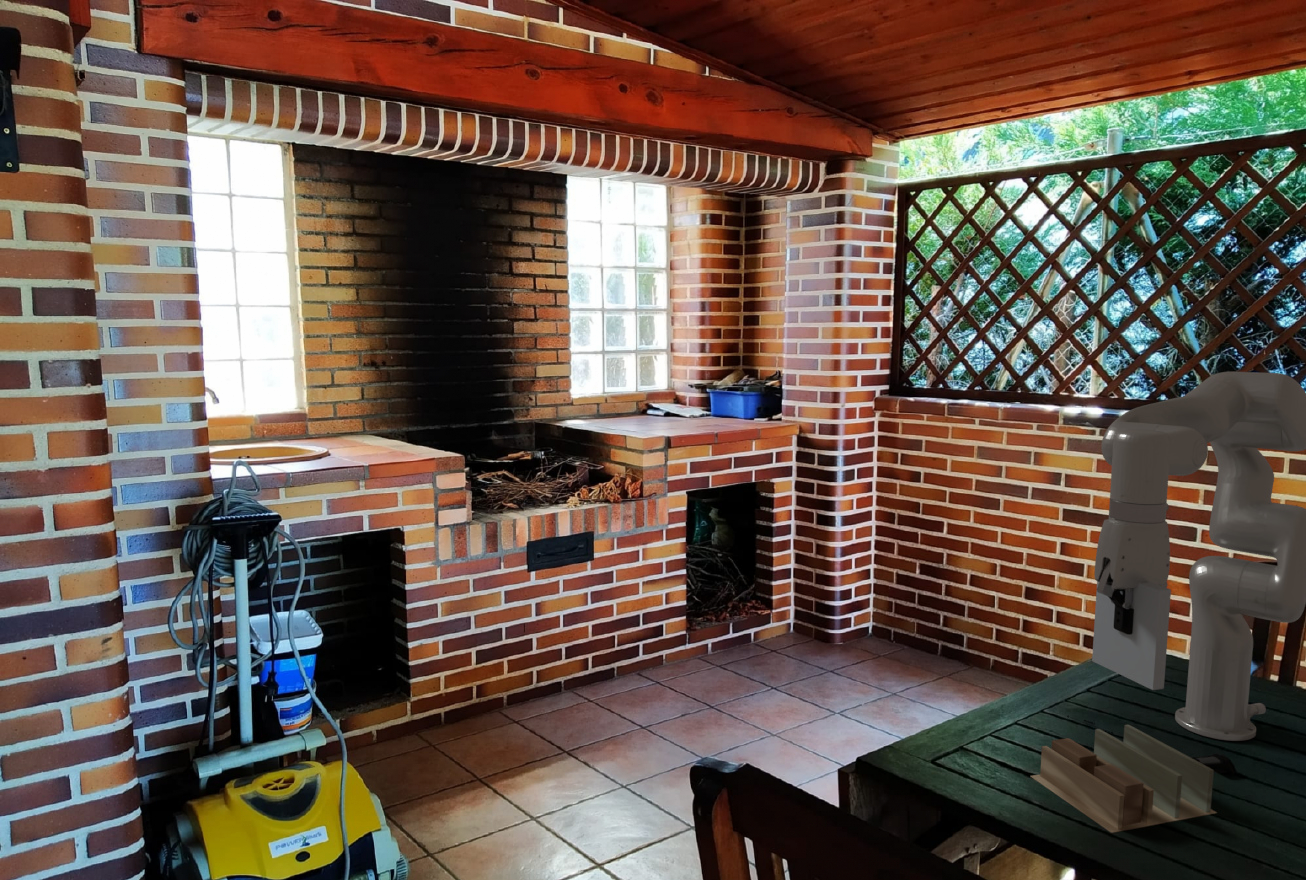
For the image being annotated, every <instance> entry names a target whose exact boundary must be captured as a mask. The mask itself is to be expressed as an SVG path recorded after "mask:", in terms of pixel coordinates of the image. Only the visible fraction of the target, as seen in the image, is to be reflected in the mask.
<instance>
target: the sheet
mask: <svg viewBox="0 0 1306 880" xmlns="http://www.w3.org/2000/svg"><path fill="white" fill-rule="evenodd" d="M1098 584H1099V582H1098V581H1096V588H1097V587H1098ZM1111 588H1112V586H1111ZM1120 593H1121V594H1122V595H1123V592H1122V591H1120ZM1171 593H1172V589H1170V588H1168V587H1167V588H1165V587H1162V586H1159V585H1156V584H1153V583H1150V582H1148V583H1138V587H1137V588H1134V589H1132V601H1131V607H1130V608H1132V609H1134V617H1133V632H1132V634H1129V635H1128V634H1125V633H1123V632H1120V631H1118V630H1116V629H1114V610H1115V604H1112V603H1111V600H1110V598H1109V597H1108V596H1106V595H1103V594H1101V593H1098V592H1097V590H1096V594H1095V595H1096V596H1095V607H1094V608H1095V611H1094V622H1093V623H1094V624H1093V625H1094V626H1093V643H1092V654H1091V655H1092V657H1091V662H1092V663H1095V664H1097V665H1100V666H1101V667H1103V668H1106V669H1108V670H1110V671H1112V672H1114V673H1116V674H1118V675H1121V676H1122V677H1125V678H1127V679H1129V680H1131V681H1133V682H1135V683H1138V684H1139V685H1140V686H1144V688H1147V689H1150V690H1152V691H1156V690H1157V691H1158V690H1163V689H1164V688H1165V678H1166V677H1165V675H1166V665H1167V662H1166V661H1167V650H1168V646H1167V645H1168V636H1169V623H1170V607H1171V595H1172V594H1171Z"/></svg>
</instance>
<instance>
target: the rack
mask: <svg viewBox="0 0 1306 880" xmlns="http://www.w3.org/2000/svg"><path fill="white" fill-rule="evenodd" d="M1093 746H1094V747H1093V753H1094V754H1096V755H1097V760H1096V766H1102V765H1109V764H1113V765H1114V766H1116V767H1118V768H1119V769H1121V770H1123V771H1124V772H1126V773H1128V774H1129V775H1131V776H1133V777H1134V778H1136V779H1138V780H1139V781H1141V782H1143V783H1144V786H1143V800H1142V814H1141V822H1140V823H1135V824H1130V825H1124V826H1122V823H1123V809H1124V795H1123V794H1122V793H1120V792H1119V791H1117V790H1115V789H1114V788H1112V787H1111V786H1109V785H1107V784H1106V783H1104V782H1103V781H1101V780H1100V779H1098V778H1096V777H1095V776H1093V775H1092V774H1090V773H1089V772H1087V771H1085V770H1084V769H1082V768H1081V767H1079V766H1077V765H1076V764H1074V763H1073V762H1071V761H1070V760H1068V759H1066V758H1065V757H1063V756H1062V755H1060V754H1058V753H1057V752H1055V751H1054V750H1052V749H1051V748H1050V747H1049V746H1048V745H1042V746H1041V756H1040V774H1035V775H1030V778H1032V779H1033V780H1034V781H1036V782H1037V783H1039V784H1040V785H1042V786H1044V787H1045V788H1046V789H1048V790H1049V791H1051V792H1053V793H1054V794H1055V795H1056V796H1058V797H1059V798H1061V799H1062V800H1064V801H1065V802H1067V803H1068V804H1070V805H1071V806H1073V808H1075V809H1076V810H1078V811H1079V812H1081V813H1082V814H1083V815H1085V816H1087V817H1088V818H1089V819H1091V820H1092V821H1094V822H1095V823H1097V824H1098V825H1099V826H1101V827H1102V828H1104V830H1107V831H1108V832H1109V833H1111V834H1114V833H1119V832H1125V831H1129V830H1134V829H1140V828H1146V827H1150V826H1155V825H1161V824H1166V823H1172V822H1177V821H1183V820H1188V819H1193V818H1198V817H1203V816H1208V815H1213V814H1214V815H1215V814H1217V813H1218V812H1217V811H1215V810H1213V809H1212V797H1213V796H1212V794H1213V786H1214V784H1213V783H1214V774H1215V773H1214V770H1213V769H1211V768H1209V767H1207V766H1205V765H1203V764H1202V763H1200V762H1198V761H1196V760H1194V759H1192V758H1193V757H1190V756H1188V755H1187V754H1185V753H1183V752H1181V751H1179V750H1177V749H1175V748H1173V747H1172V746H1169V745H1168V744H1166V743H1164V742H1162V741H1160V740H1158V739H1156V738H1155V737H1154V736H1153V737H1152V736H1151V735H1149V734H1147V733H1145V732H1143V731H1142V730H1140V729H1137V728H1136V727H1134V726H1133V725H1130V724H1124V728H1123V741H1121V740H1120V739H1118V738H1117V737H1115V736H1113V735H1111V734H1109V732H1107V731H1106V732H1105V730H1103V729H1102V728H1101V729H1100V728H1097V729H1095V730H1094V744H1093Z"/></svg>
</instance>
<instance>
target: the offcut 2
mask: <svg viewBox="0 0 1306 880" xmlns="http://www.w3.org/2000/svg"><path fill="white" fill-rule="evenodd" d="M1094 776H1095V777H1096V778H1098V779H1100V780H1101V781H1103V782H1104V783H1106V784H1107V785H1109V786H1111V787H1112V788H1114V789H1115V790H1117V791H1119V792H1120V793H1122V794H1123V795H1124V809H1123V823H1122V826H1124V825H1130V824H1135V823H1140V822H1141V814H1142V800H1143V786H1144V783H1143V782H1141V781H1139V780H1138V779H1136V778H1134V777H1133V776H1131V775H1129V774H1128V773H1126V772H1124V771H1123V770H1121V769H1119V768H1118V767H1116V766H1114V765H1113V764H1109V765H1102V766H1096V767H1094Z"/></svg>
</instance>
